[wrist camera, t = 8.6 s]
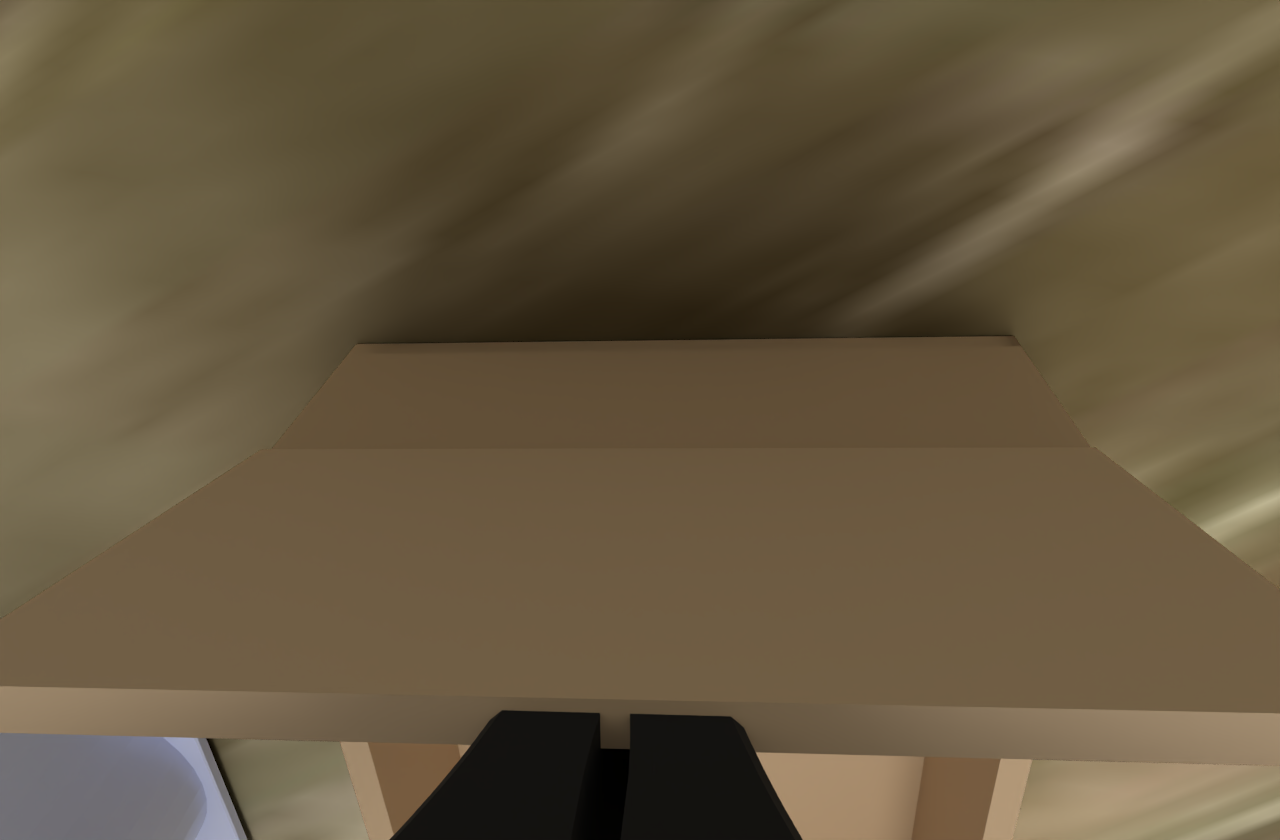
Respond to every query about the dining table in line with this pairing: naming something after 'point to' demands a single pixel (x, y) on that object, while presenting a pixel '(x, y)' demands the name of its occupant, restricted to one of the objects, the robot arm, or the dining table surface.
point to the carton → (707, 418)
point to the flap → (668, 605)
